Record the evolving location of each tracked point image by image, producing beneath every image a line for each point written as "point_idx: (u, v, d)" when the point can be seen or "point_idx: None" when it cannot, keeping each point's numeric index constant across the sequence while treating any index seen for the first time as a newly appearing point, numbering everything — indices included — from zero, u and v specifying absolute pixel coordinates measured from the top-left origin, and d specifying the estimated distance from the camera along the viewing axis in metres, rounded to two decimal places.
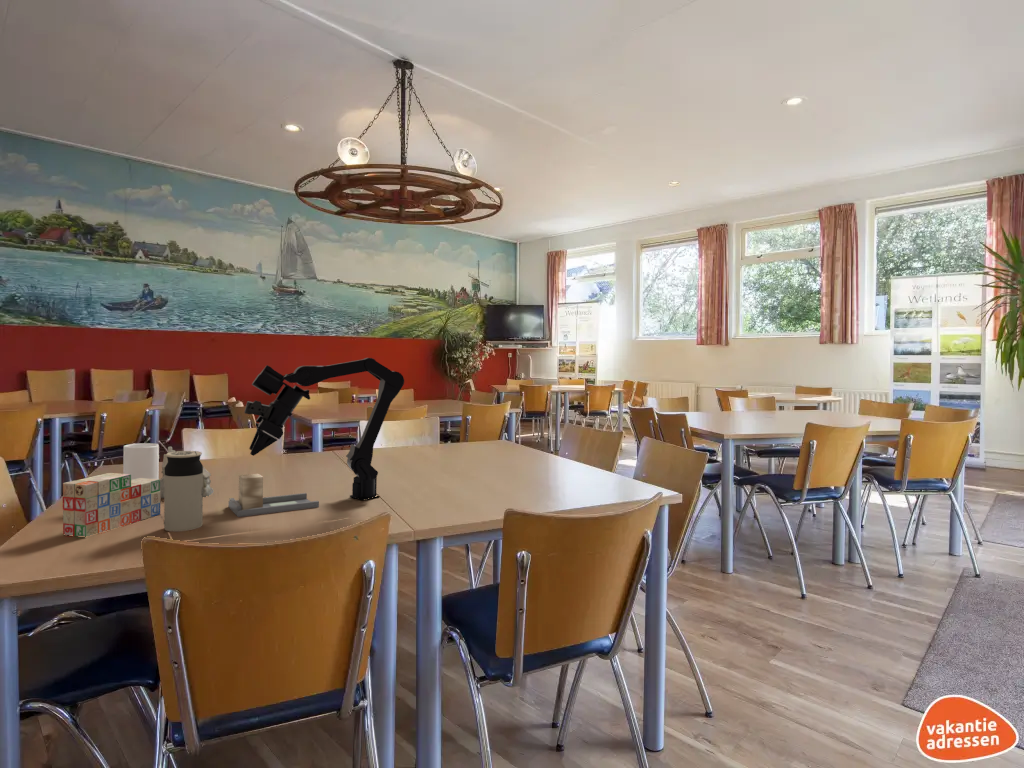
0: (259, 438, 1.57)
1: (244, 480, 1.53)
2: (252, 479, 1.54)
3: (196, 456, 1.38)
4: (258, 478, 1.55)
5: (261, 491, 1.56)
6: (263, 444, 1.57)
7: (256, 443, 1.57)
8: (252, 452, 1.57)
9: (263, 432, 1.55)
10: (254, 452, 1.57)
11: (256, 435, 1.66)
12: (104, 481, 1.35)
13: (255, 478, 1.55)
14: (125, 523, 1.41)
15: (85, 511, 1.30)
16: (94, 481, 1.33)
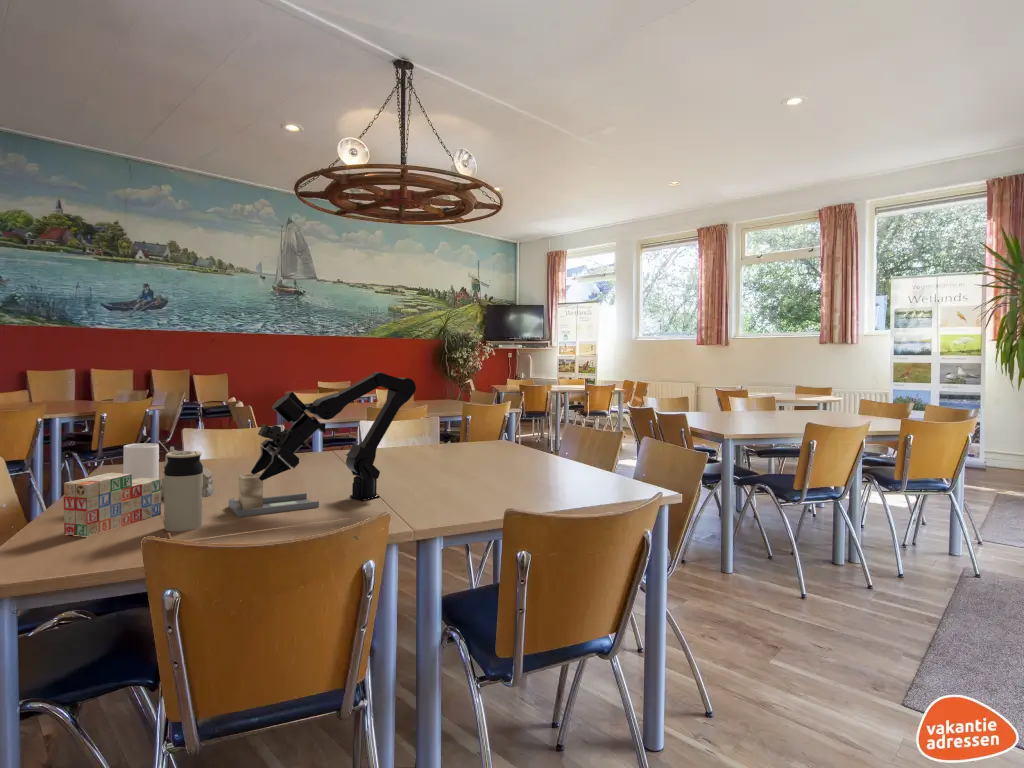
0: (273, 464, 1.54)
1: (244, 480, 1.53)
2: (252, 479, 1.54)
3: (196, 456, 1.38)
4: (258, 478, 1.55)
5: (261, 491, 1.56)
6: (275, 470, 1.54)
7: (268, 468, 1.53)
8: (261, 477, 1.53)
9: (279, 458, 1.53)
10: (264, 477, 1.54)
11: (260, 459, 1.62)
12: (105, 481, 1.35)
13: (255, 478, 1.55)
14: (126, 523, 1.41)
15: (86, 510, 1.31)
16: (95, 481, 1.34)
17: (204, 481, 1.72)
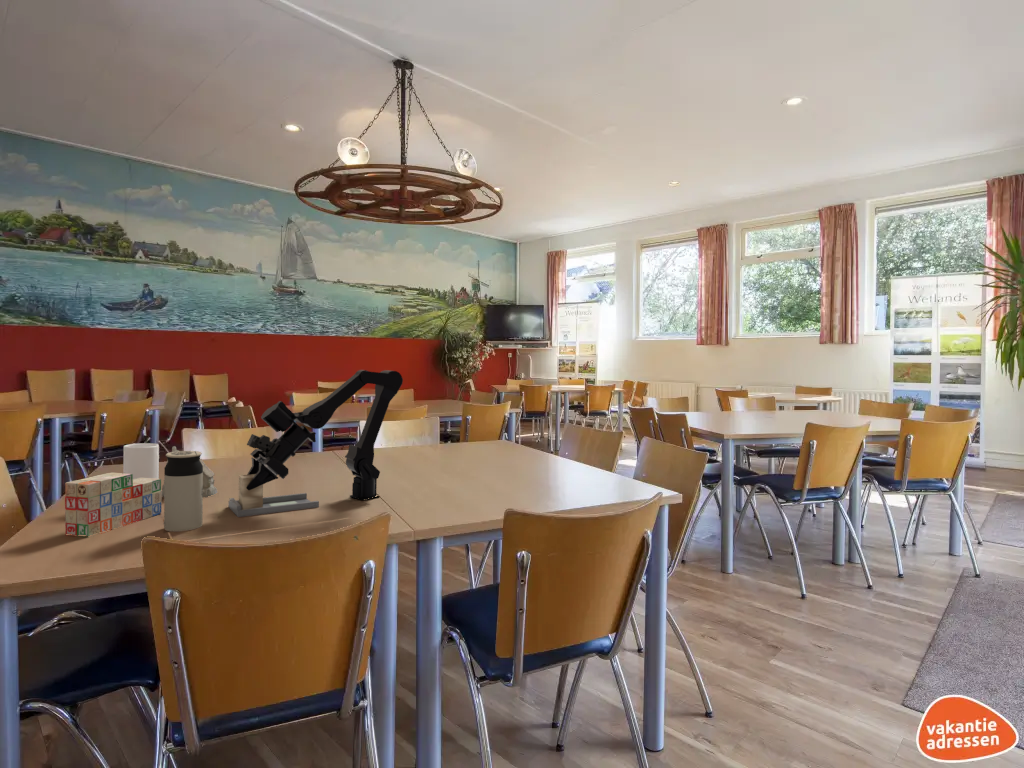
0: (260, 473, 1.54)
1: (244, 480, 1.53)
2: None
3: (196, 456, 1.38)
4: None
5: (261, 491, 1.56)
6: (262, 480, 1.54)
7: (255, 478, 1.53)
8: (248, 486, 1.53)
9: (267, 468, 1.53)
10: (251, 486, 1.54)
11: (252, 471, 1.59)
12: (106, 481, 1.35)
13: None
14: (127, 522, 1.41)
15: (88, 510, 1.31)
16: (96, 481, 1.34)
17: (206, 481, 1.72)
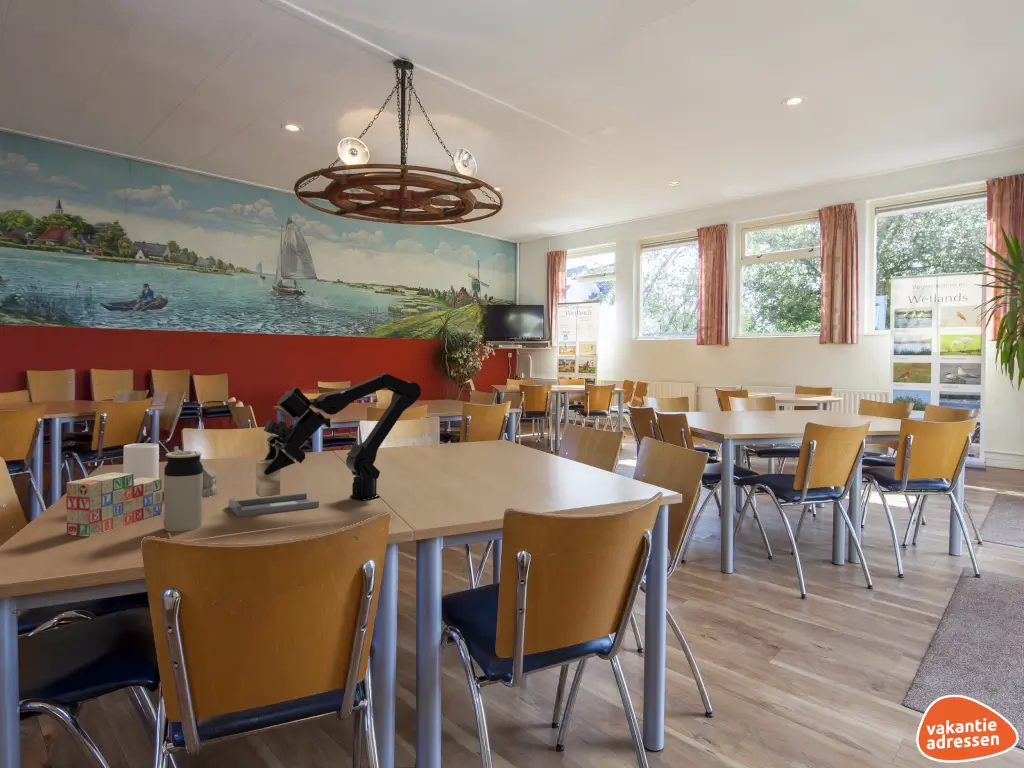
0: (277, 458, 1.56)
1: (262, 465, 1.56)
2: None
3: (196, 456, 1.38)
4: None
5: (278, 476, 1.58)
6: (279, 465, 1.57)
7: (273, 463, 1.56)
8: (266, 471, 1.56)
9: (284, 453, 1.55)
10: (269, 471, 1.56)
11: (268, 456, 1.62)
12: (107, 480, 1.35)
13: None
14: (128, 522, 1.42)
15: (89, 510, 1.31)
16: (98, 480, 1.34)
17: (208, 481, 1.72)
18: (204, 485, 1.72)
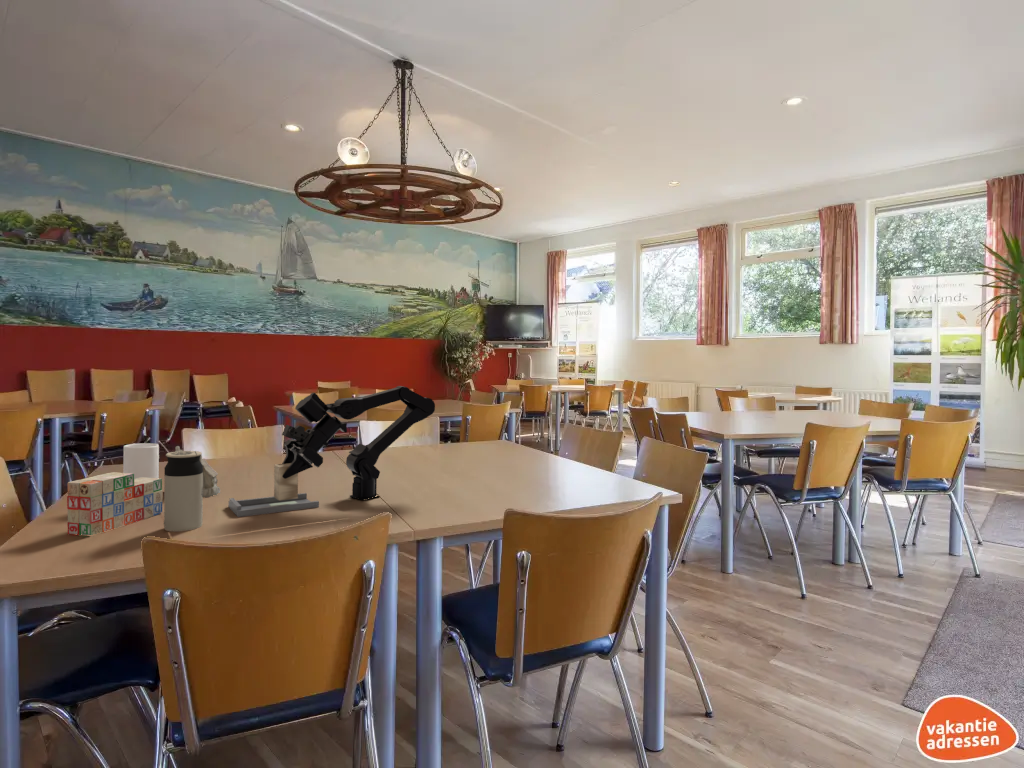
0: (295, 462, 1.59)
1: (280, 469, 1.58)
2: None
3: (196, 456, 1.38)
4: None
5: (296, 479, 1.61)
6: (297, 469, 1.60)
7: (291, 467, 1.59)
8: (284, 475, 1.59)
9: (302, 457, 1.58)
10: (287, 475, 1.59)
11: (286, 460, 1.64)
12: (108, 480, 1.36)
13: None
14: (128, 522, 1.42)
15: (90, 510, 1.31)
16: (98, 480, 1.34)
17: (210, 480, 1.73)
18: (205, 485, 1.72)
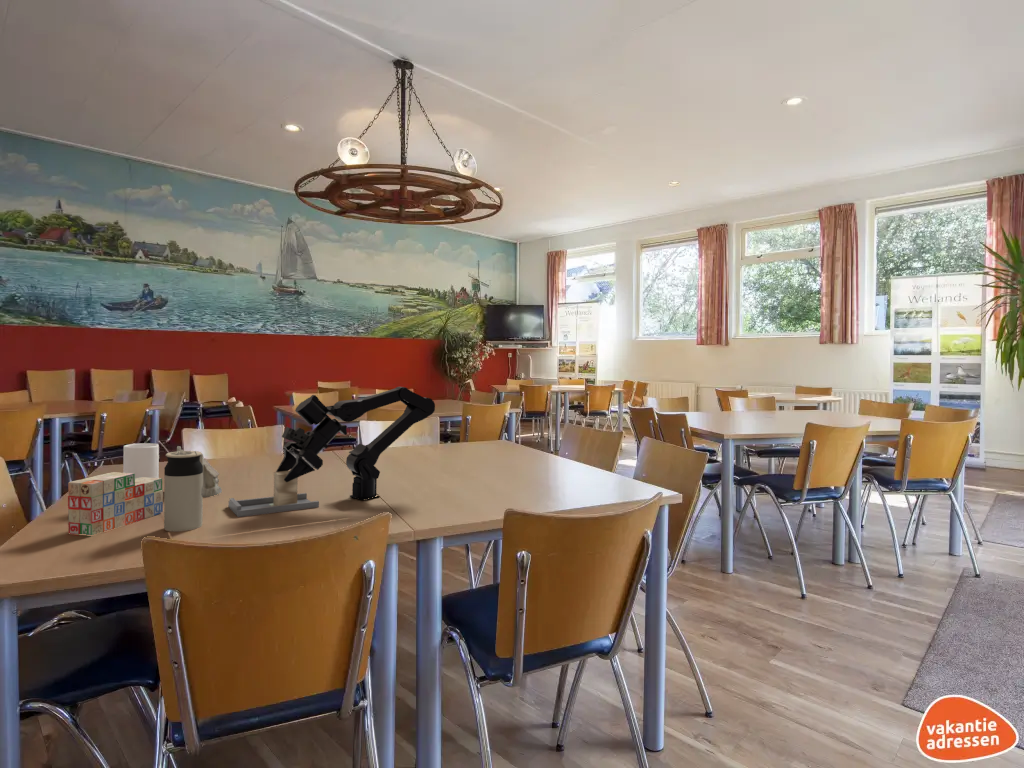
0: (297, 466, 1.57)
1: (280, 476, 1.58)
2: None
3: (196, 456, 1.38)
4: None
5: (296, 487, 1.61)
6: (299, 472, 1.58)
7: (293, 470, 1.57)
8: (286, 478, 1.57)
9: (304, 460, 1.57)
10: (289, 478, 1.57)
11: (284, 461, 1.66)
12: (109, 480, 1.36)
13: None
14: (129, 522, 1.42)
15: (91, 510, 1.31)
16: (99, 480, 1.34)
17: (211, 480, 1.73)
18: (207, 485, 1.73)
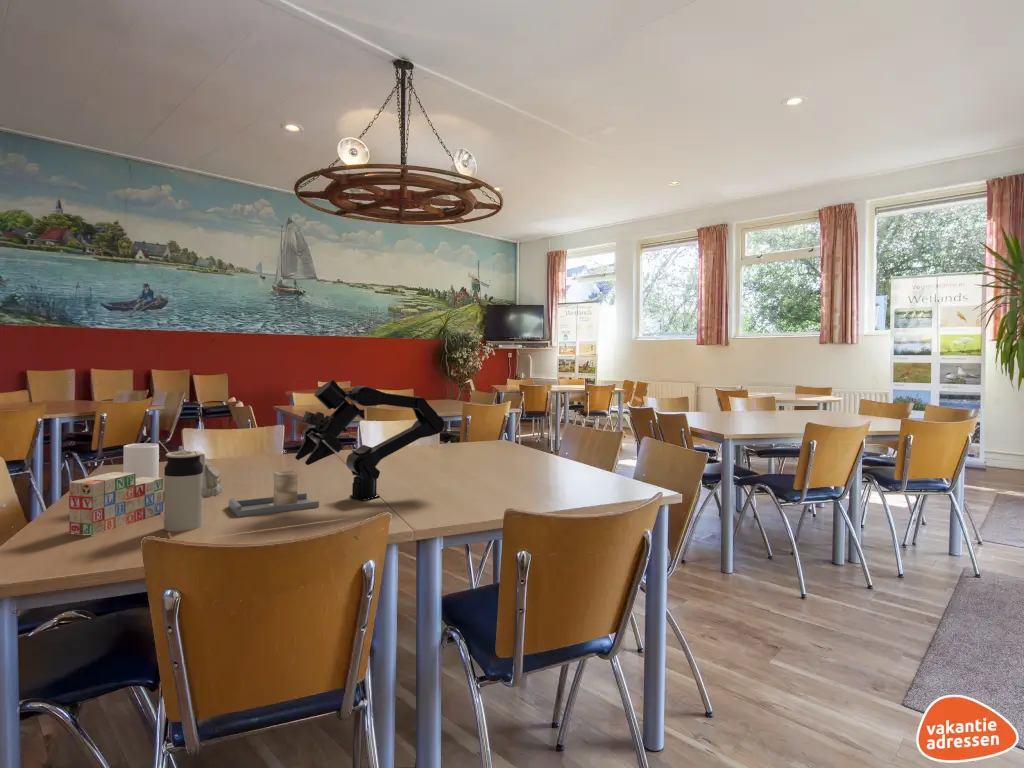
0: (318, 449, 1.60)
1: (280, 476, 1.58)
2: (287, 475, 1.60)
3: (196, 456, 1.38)
4: (293, 474, 1.60)
5: (296, 487, 1.61)
6: (319, 455, 1.61)
7: (313, 453, 1.60)
8: (307, 461, 1.60)
9: (324, 443, 1.60)
10: (310, 461, 1.60)
11: (304, 445, 1.69)
12: (110, 480, 1.36)
13: (290, 474, 1.60)
14: (130, 521, 1.42)
15: (92, 509, 1.32)
16: (100, 480, 1.35)
17: (213, 480, 1.73)
18: (209, 485, 1.73)
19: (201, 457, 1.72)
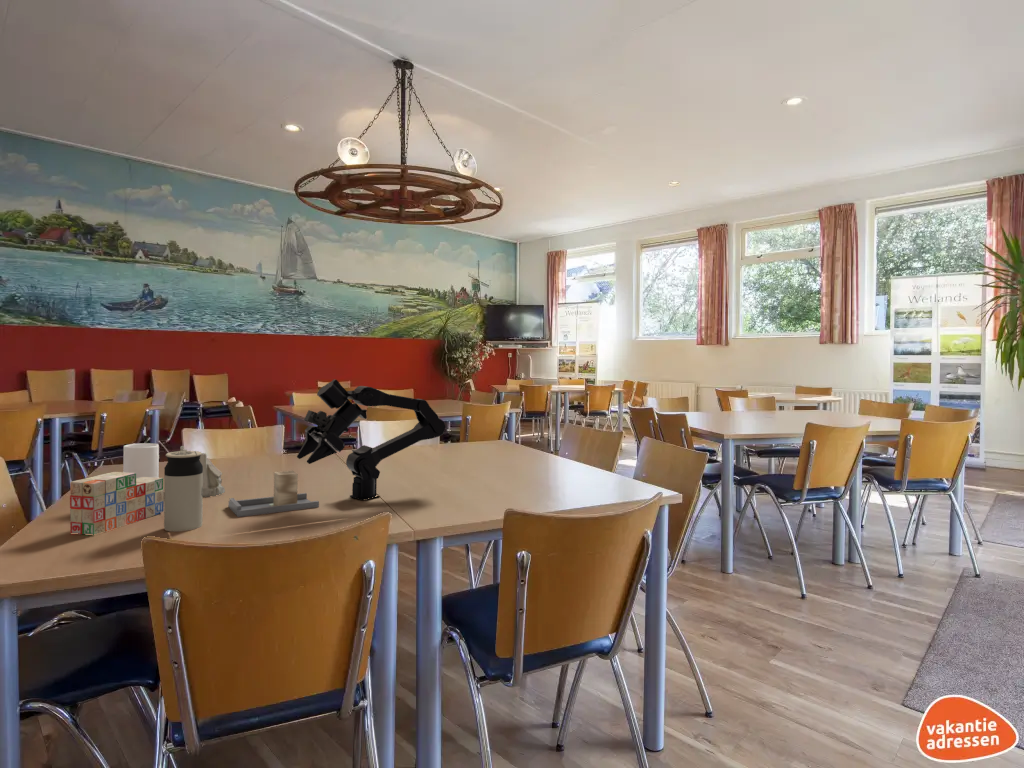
0: (320, 448, 1.61)
1: (280, 476, 1.58)
2: (287, 475, 1.60)
3: (196, 456, 1.38)
4: (293, 474, 1.60)
5: (296, 487, 1.61)
6: (321, 454, 1.61)
7: (315, 452, 1.61)
8: (309, 460, 1.60)
9: (326, 443, 1.60)
10: (311, 460, 1.61)
11: (306, 444, 1.69)
12: (111, 480, 1.36)
13: (290, 474, 1.60)
14: (130, 521, 1.43)
15: (93, 509, 1.32)
16: (101, 480, 1.35)
17: (214, 480, 1.74)
18: (210, 484, 1.73)
19: (203, 457, 1.72)
